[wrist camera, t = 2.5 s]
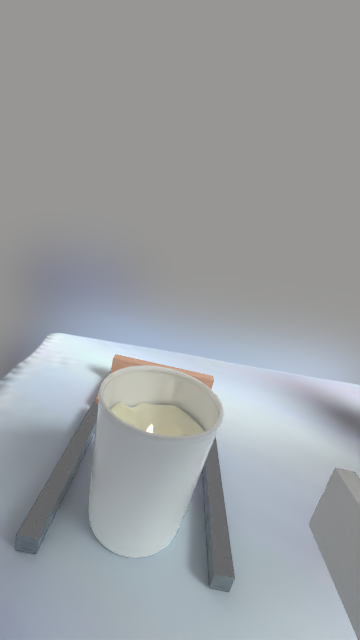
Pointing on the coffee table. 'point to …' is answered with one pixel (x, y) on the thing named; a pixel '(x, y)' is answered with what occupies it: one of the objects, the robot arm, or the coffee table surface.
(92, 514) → the candle holder
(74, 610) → the coffee table surface
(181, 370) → the orange u-shaped bracket
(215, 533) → the guide rails
